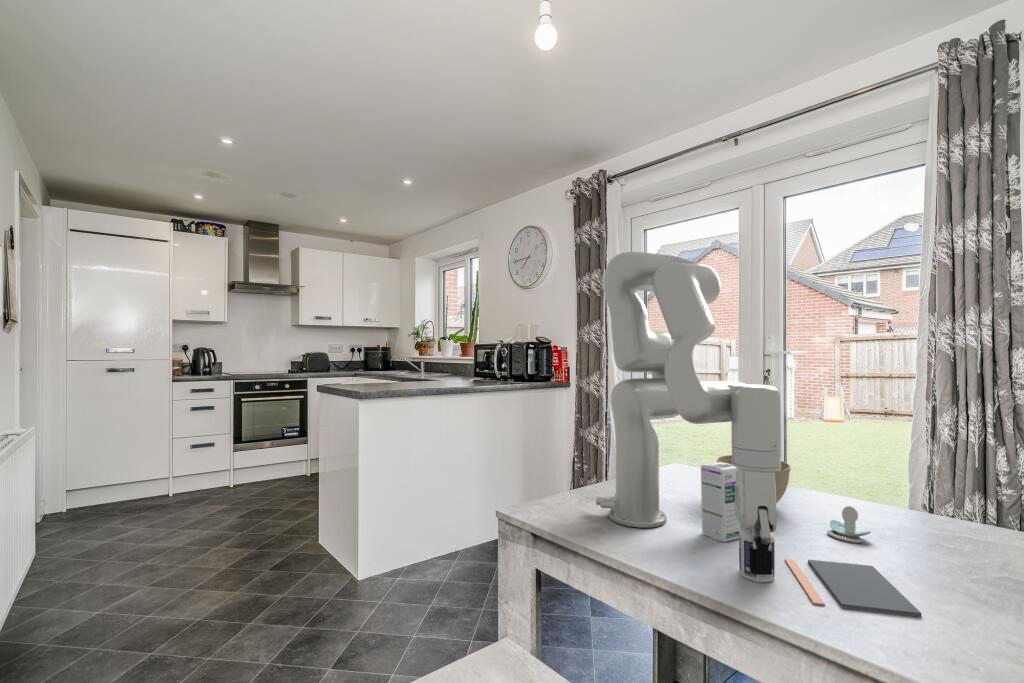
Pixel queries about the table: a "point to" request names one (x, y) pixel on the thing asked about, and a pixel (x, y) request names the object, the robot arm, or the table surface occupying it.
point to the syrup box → (719, 501)
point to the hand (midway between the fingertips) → (756, 564)
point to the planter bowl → (780, 475)
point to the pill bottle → (745, 557)
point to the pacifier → (847, 526)
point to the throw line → (805, 583)
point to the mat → (862, 588)
